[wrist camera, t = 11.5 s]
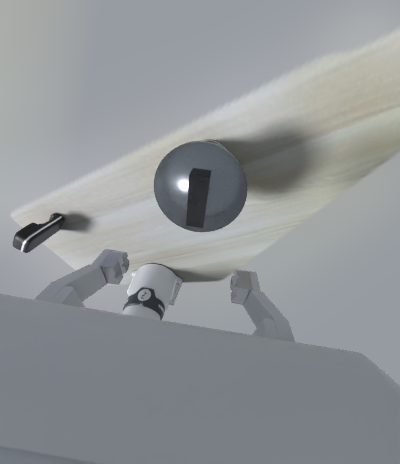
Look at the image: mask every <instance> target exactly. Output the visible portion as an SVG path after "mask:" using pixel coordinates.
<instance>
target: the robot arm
mask: <svg viewBox="0 0 400 464" xmlns="http://www.w3.org/2000/svg"><path fill="white" fill-rule="evenodd" d="M127 256H128V255H127V253H126V252H121V251H115V250H109V249H105V250H104V251H103V252H102V253H101V254H100V255H99V256H98V258H97V259H96V260H95V261H94V262H93V263H92V264H91V265H87V266H85V267H83V268H81V269H79V270H77V271H75V272H73V273H71V274H69V275H66V276H64V277H62V278H60V279H58V280H56V281H54V282H52V283H51V284H50V285H49V286H48V287H47V288H45V290H44V291H42V292H41V293H40V294H39V295H38V296H37V297H36V299H27V298H22V297H16V296H10V295H4V294H0V464H400V385H399V384H397V383H396V382H395V381H394V380H393V379H392V378H391V377H390V376H388V375H387V374H386V373H385V372H384V371H383V370H382V369H380V368H379V367H378V366H377V365H376V364H375V363H373V362H372V361H371V360H369V359H368V358H367V357H366V356H364V355H363V354H360V353H358V352H353V351H347V350H340V349H334V348H327V347H322V346H316V345H308V344H303V343H297V342H295V340H294V337H293V334H292V331H291V328H290V325H289V322H288V320H287V319H286V318H285V317H284V316H283V314H282V313H281V312H280V311H279V310H278V309H277V308H276V307H275V305H274V304H273V303H272V302H271V301H270V300H269V299H268V297H267V296H266V295H265V294H264V293H263V292H261V291H260V286H259V282H258V278H257V274H256V272H251V271H244V270H237V269H235V270H234V276H232V279H231V290H232V293H231V301H232V303H236V304H242V305H243V306H244V308H245V309H246V311H247V313H248V314H249V316H250V318H251V319H252V321H253V323H254V324H255V326H256V327H257V329H256V330H255V332H254V333H253V334H252V335H247V334H242V333H235V332H230V331H223V330H217V329H211V328H205V327H199V326H193V325H187V324H181V323H174V322H169V321H162V320H161V319H162V318H163V315H164V312H165V310H167V308H168V305H169V304H170V305H174V302H175V299H176V296H177V294H178V292H179V289H180V287H181V284H182V282H183V280H182V279H181V278H179V277H177V276H176V275H175V274H174V273H173V272H172V271H171V270H170V269H168V268H166V267H164V266H162V265H158V264H146V265H143V266H141V267H140V268H139V269H138V270H136V271H133V272H132V274H131V275H132V277H133V280H132V282H131V284H130V286H129V289H128V291H127V293H128V296H129V298H128V299H127V301H126V303H125V305H124V308H123V313H122V314H120V313H113V312H107V311H101V310H95V309H89V308H85V306H84V305H83V303H82V301H84V300H85V299H86V298H88V297H89V296H91V295H92V294H94V293H95V292H96V291H98V290H99V289H100V288H102V287H103V286H105V285H106V284H107V283H110V284H118V285H119V283H120V281H121V280H122V278H123V274H124V273H126V272H127V270H128V267H129V260H128V259H127Z"/></svg>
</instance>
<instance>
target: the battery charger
mask: <svg viewBox="0 0 400 464" xmlns="http://www.w3.org/2000/svg"><path fill="white" fill-rule="evenodd" d="M63 221H64V218H63V217H62V216H60V215H58V214H55V213H54V214H52V215H51V217H50V220H49V221H48V222H46V223H44V224H39V225H38V224H36V223H31V224H29V225H27V226H26V227H24V228H23V229H21V230H20V231H18V232H17V233H16V234H15V236H14V241H13V246H14V247H15V248H17V249H19V250H21V251H22V252H25V253H28V252H30V251H31V250H33V249H34V248H35V247H37V246H38V245H39V244H41V243H42V242H44V241H45V240H46V239H48V238H49V237H50V236H52V235H53V234H55V233H56V232H57V231H59V229H60V227H61V225H62V223H63Z"/></svg>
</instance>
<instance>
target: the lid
mask: <svg viewBox="0 0 400 464" xmlns="http://www.w3.org/2000/svg"><path fill="white" fill-rule="evenodd" d="M154 192H155V197H156V200H157V202H158V205H159V207H160V208H161V210H162V211H163V213H164V214H165V215H166V216H167V217H168V218H169V219H170V220H171V221H172V222H173V223H175V224H176V225H178V226H180V227H182V228H184V229H187V230H190V231H195V232H210V231H215V230H218V229H221V228H223V227H225V226H226V225H228V224H230V223H231V222H232V221H233V220H234V219H235V218H236V217H237V216H238V215H239V213H240V212H241V210H242V208H243V207H244V204H245V201H246V197H247V182H246V177H245V174H244V171H243V169H242V167H241V165H240V163H239V162H238V160H237V159H236V157H235V156H234V155H233V154H232V153H231V152H229V151H228V150H227V149H225V148H224V147H222V146H220V145H218V144H215V143H212V142H207V141H192V142H188V143H185V144H182V145H180V146H178V147H176V148H175V149H173V150H172V151H171V152H170V153H168V154H167V155H166V156H165V157H164V159H163V160H162V161H161V163H160V164H159V166H158V168H157V171H156V174H155V179H154Z"/></svg>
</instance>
